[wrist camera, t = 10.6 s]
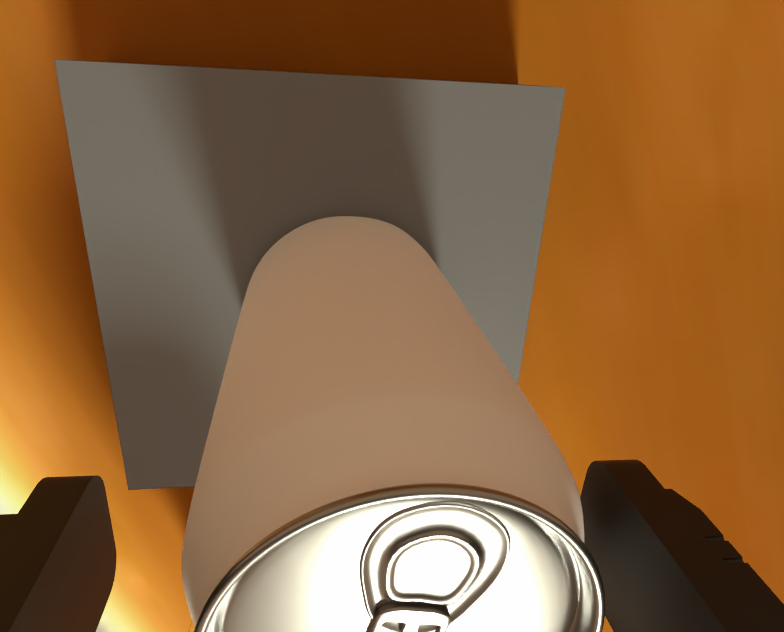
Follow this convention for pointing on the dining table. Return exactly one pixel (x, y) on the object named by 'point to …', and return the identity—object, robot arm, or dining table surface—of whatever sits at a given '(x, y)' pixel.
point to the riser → (283, 211)
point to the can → (377, 460)
